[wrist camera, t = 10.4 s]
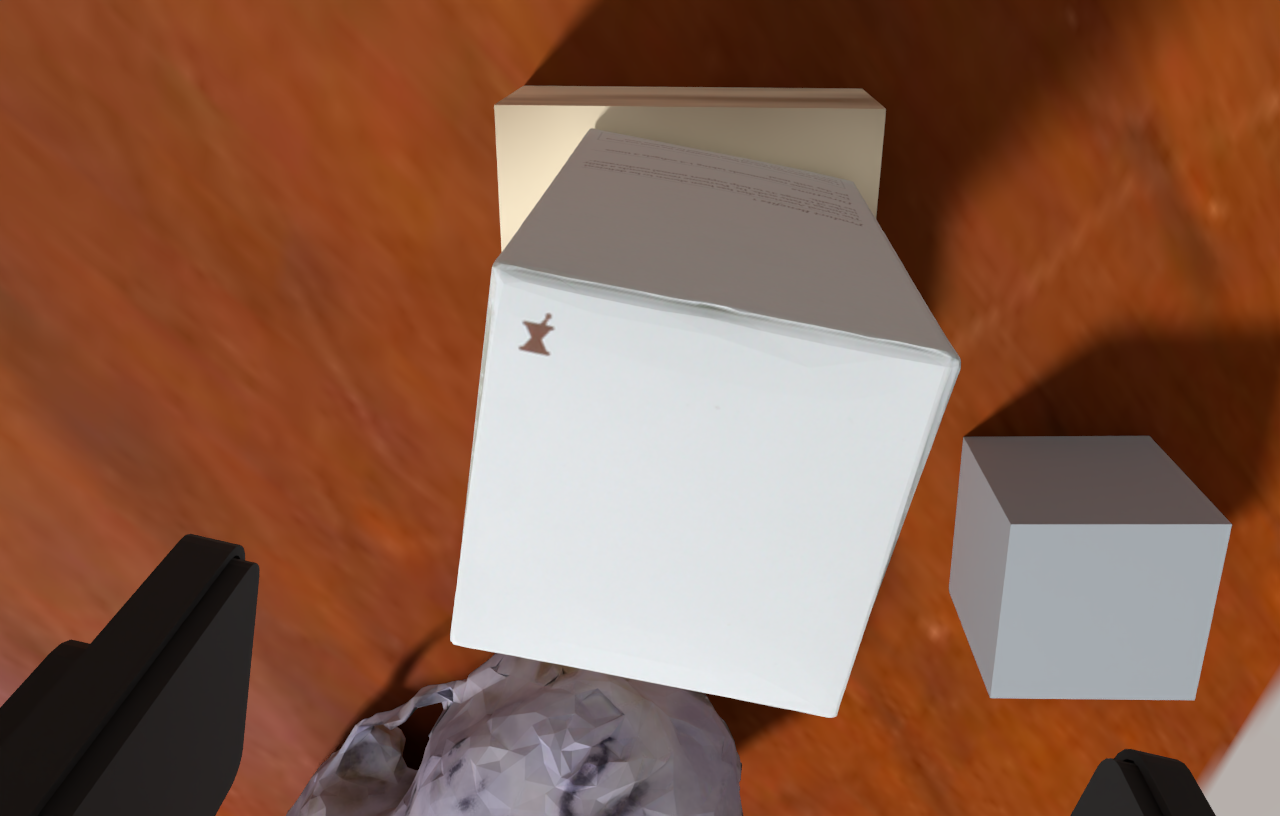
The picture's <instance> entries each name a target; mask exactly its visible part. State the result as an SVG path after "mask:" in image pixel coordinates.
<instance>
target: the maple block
mask: <svg viewBox="0 0 1280 816" xmlns="http://www.w3.org/2000/svg"><path fill="white" fill-rule="evenodd" d="M494 109H495V129H496V149H497V169H498V188H499V208H500V228H501V248H502V251H503V250H504V249H505V247H506V246H507V245H508V243H509V242H510V240H511V239H512V238H513V236H514V235H515V234H516V232H517V231H518V229H519V228H520V226H521V225H522V223H523V222H524V221H525V219H526V218H527V216H528V215H529V214H530V212H531V211H532V209H533V208H534V207H535V205H536V204H537V202H538V201H539V200H540V198H541V197H542V195H543V194H544V193H545V191H546V190H547V188H548V187H549V186H550V184H551V183H552V181H553V180H554V179H555V177H556V176H557V174H558V173H559V172H560V170H561V169H562V167H563V166H564V164H565V163H566V162H567V160H568V159H569V157H570V156H571V154H572V153H573V152H574V150H575V149H576V147H577V146H578V144H579V143H580V141H581V140H582V139H583V137H584V136H585V135H586V133H587V132H588V131H589V129H592V128H594V129H598V130H603V131H608V132H613V133H618V134H623V135H628V136H634V137H639V138H644V139H649V140H654V141H659V142H664V143H669V144H675V145H680V146H685V147H690V148H695V149H700V150H705V151H710V152H715V153H721V154H726V155H731V156H736V157H741V158H746V159H751V160H756V161H761V162H766V163H771V164H776V165H781V166H786V167H791V168H795V169H800V170H805V171H810V172H814V173H818V174H823V175H827V176H831V177H836V178H840V179H845V180H849V181H852V182H854V184H855V185H856V187H857V189H858V190H859V192H860V193H861V195H862V197H863V198H864V200H865V202H866V203H867V205H868V207H869V209H870V210H871V212H872V213H873V215H874V217H875V218H876V215H877V204H878V193H879V182H880V171H881V160H882V149H883V138H884V127H885V116H886V108H884V107H883V106H882V105H881V104H880V103H879V102H877V101H876V100H875V99H874V98H873V97H871V96H870V95H869V94H868V93H867V92H866V91H864V90H863V89H858V88H743V87H629V86H523V87H521V88H520V89H518V90H516V91H515V92H513V93H512V94H510V95H509V96H507V97H506V98H504V99H503V100H501V101H500V102H498V103H496V104H495V105H494Z"/></svg>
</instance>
